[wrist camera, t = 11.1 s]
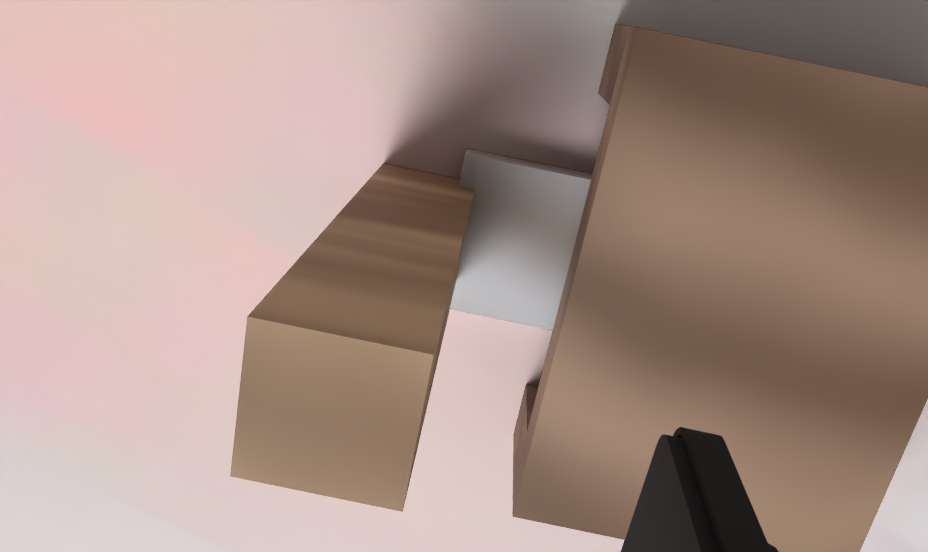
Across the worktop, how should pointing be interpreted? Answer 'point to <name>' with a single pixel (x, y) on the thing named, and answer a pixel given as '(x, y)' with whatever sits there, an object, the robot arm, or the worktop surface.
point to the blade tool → (394, 318)
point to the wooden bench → (739, 292)
